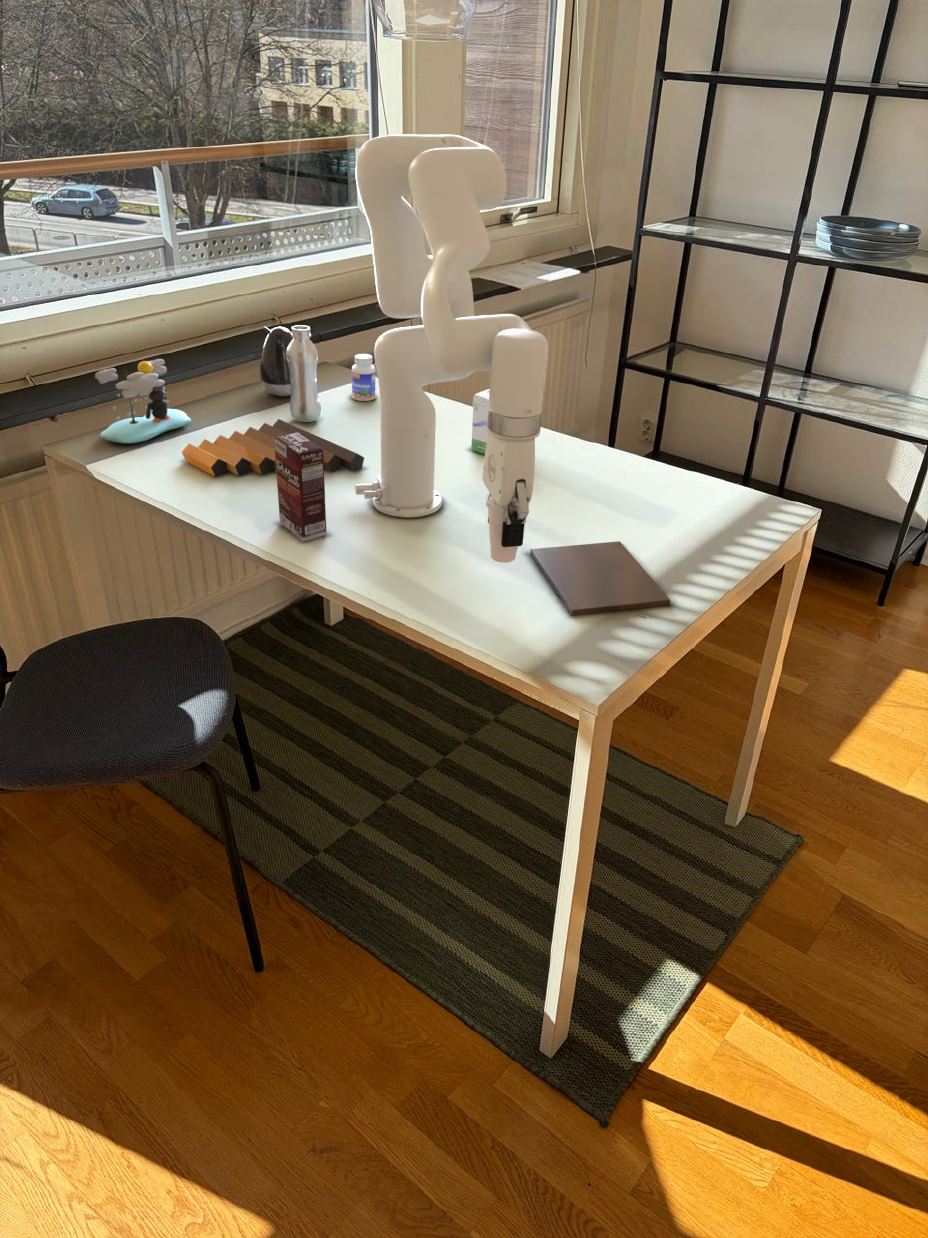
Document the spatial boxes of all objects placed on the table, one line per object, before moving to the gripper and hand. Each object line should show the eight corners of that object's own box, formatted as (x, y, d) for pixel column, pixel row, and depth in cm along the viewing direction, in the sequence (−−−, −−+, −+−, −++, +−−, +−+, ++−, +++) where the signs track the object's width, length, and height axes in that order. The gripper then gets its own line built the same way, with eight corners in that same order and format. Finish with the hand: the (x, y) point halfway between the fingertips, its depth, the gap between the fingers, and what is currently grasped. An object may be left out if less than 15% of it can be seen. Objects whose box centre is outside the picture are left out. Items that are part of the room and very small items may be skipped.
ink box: (488, 456, 195) (492, 400, 189) (469, 450, 198) (472, 394, 192) (513, 445, 201) (517, 390, 195) (494, 439, 204) (498, 384, 197)
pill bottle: (349, 400, 221) (348, 358, 216) (355, 392, 226) (354, 351, 221) (372, 402, 220) (371, 360, 215) (377, 395, 225) (377, 353, 220)
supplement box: (278, 523, 165) (272, 436, 157) (302, 517, 168) (298, 430, 159) (302, 543, 159) (298, 453, 151) (328, 536, 162) (324, 447, 154)
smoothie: (520, 569, 143) (528, 483, 135) (478, 563, 144) (484, 478, 136) (526, 549, 148) (534, 466, 141) (486, 544, 149) (492, 460, 141)
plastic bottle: (319, 425, 206) (315, 332, 196) (287, 424, 206) (282, 330, 196) (323, 415, 212) (319, 324, 201) (292, 414, 212) (287, 322, 201)
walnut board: (571, 615, 143) (572, 610, 142) (530, 554, 159) (530, 548, 159) (669, 605, 147) (670, 599, 146) (619, 546, 163) (619, 541, 162)
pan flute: (364, 467, 188) (286, 432, 202) (364, 451, 186) (285, 416, 200) (259, 502, 172) (182, 462, 186) (258, 485, 170) (180, 445, 185)
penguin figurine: (169, 413, 209) (161, 344, 201) (202, 425, 204) (195, 354, 196) (90, 438, 195) (77, 365, 187) (123, 451, 190) (112, 376, 182)
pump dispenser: (282, 382, 230) (278, 318, 222) (314, 392, 225) (311, 326, 217) (251, 393, 223) (246, 327, 215) (283, 403, 218) (279, 335, 210)
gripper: (472, 400, 140) (466, 510, 150) (506, 446, 126) (497, 564, 136) (521, 398, 142) (511, 507, 152) (560, 443, 128) (546, 560, 138)
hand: (504, 533), depth 144 cm, fingers closed on smoothie, 6 cm apart
